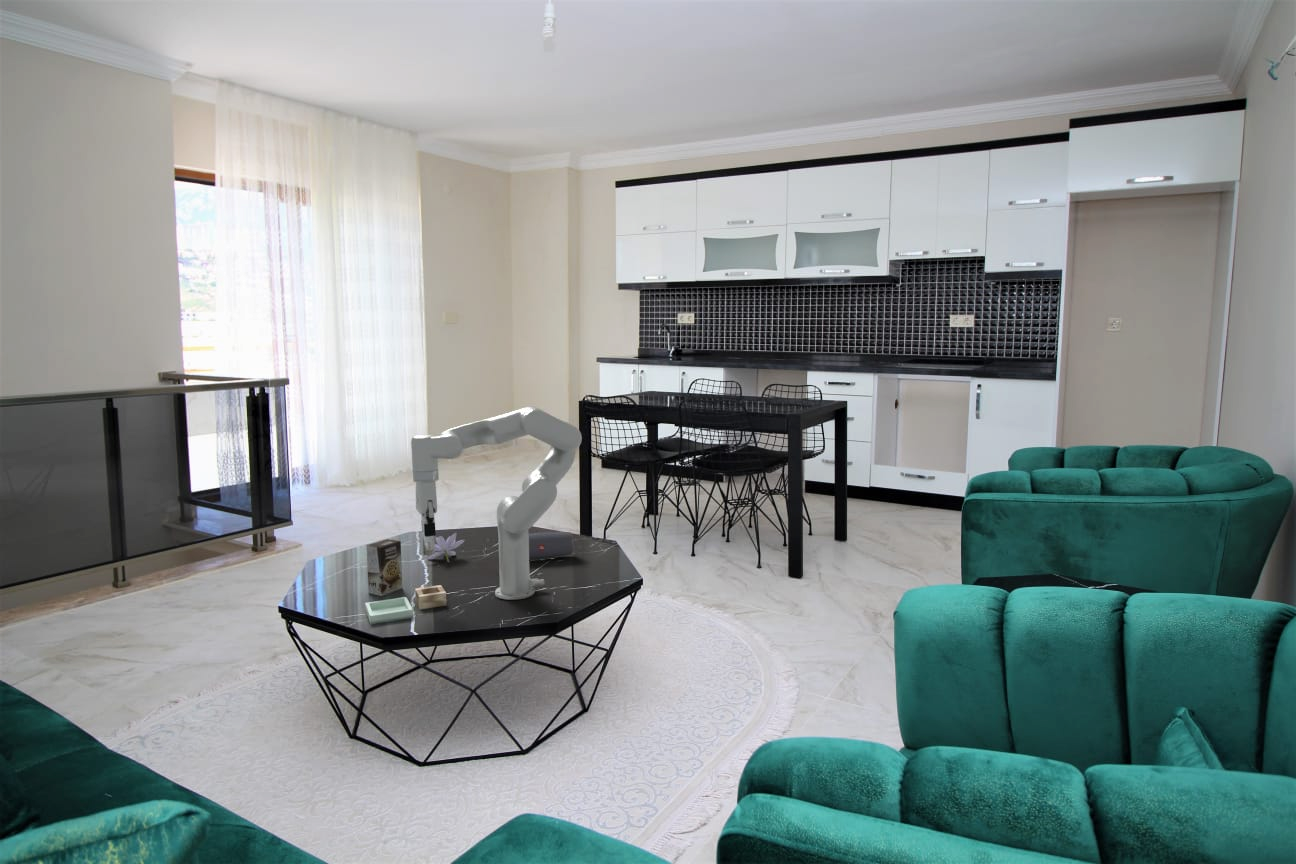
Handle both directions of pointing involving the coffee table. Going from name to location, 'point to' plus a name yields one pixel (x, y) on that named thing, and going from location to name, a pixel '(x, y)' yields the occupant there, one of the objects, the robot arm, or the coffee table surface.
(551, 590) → the coffee table surface
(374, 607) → the tray
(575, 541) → the coffee table surface
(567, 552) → the bluetooth speaker
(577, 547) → the coffee table surface
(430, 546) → the pin
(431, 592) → the socket block
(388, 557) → the brown cookie box
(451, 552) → the water lily
